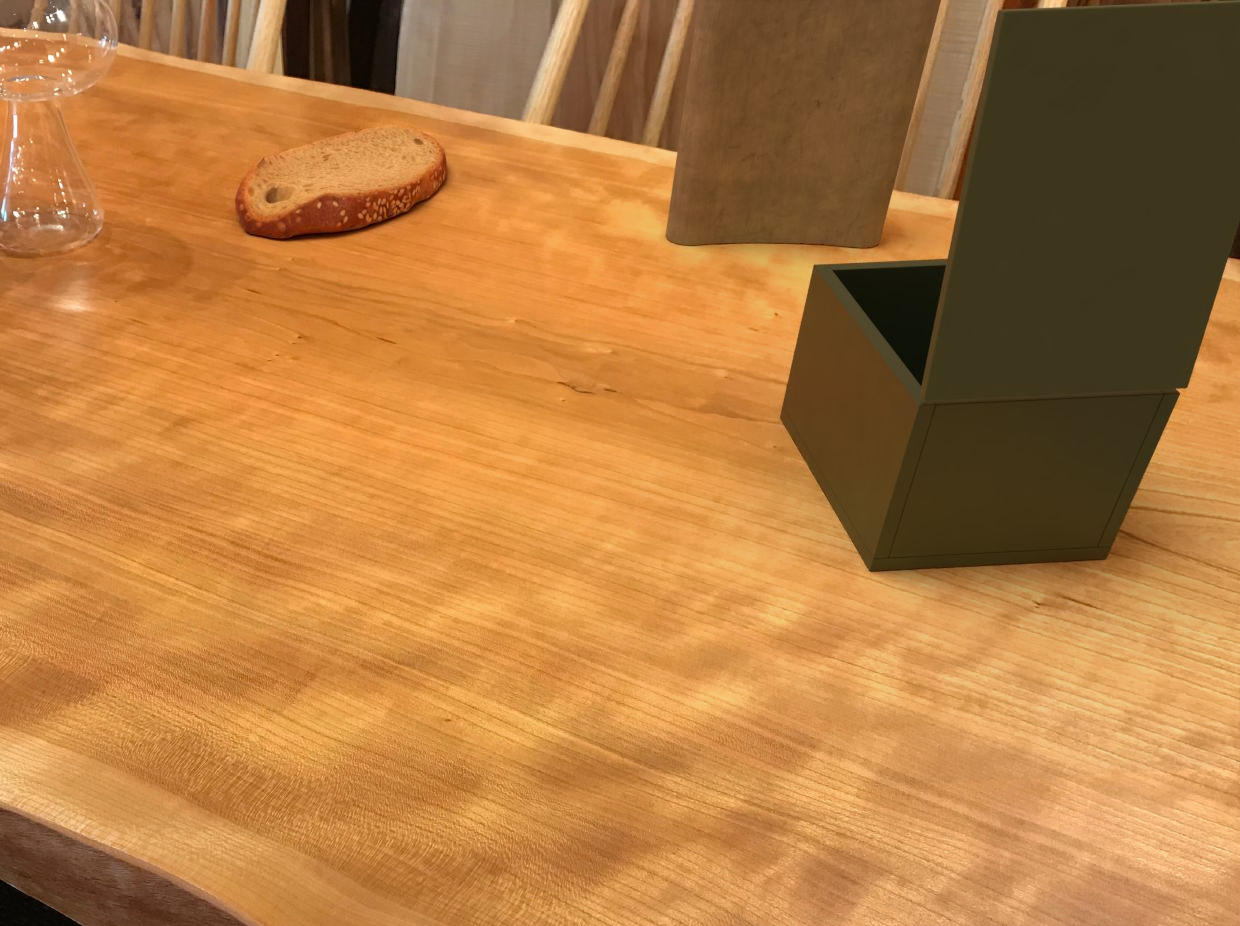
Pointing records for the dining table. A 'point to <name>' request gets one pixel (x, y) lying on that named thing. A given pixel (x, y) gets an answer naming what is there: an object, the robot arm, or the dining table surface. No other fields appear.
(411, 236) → the dining table surface
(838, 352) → the bread box
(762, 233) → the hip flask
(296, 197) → the bread slice
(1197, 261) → the bread box lid
